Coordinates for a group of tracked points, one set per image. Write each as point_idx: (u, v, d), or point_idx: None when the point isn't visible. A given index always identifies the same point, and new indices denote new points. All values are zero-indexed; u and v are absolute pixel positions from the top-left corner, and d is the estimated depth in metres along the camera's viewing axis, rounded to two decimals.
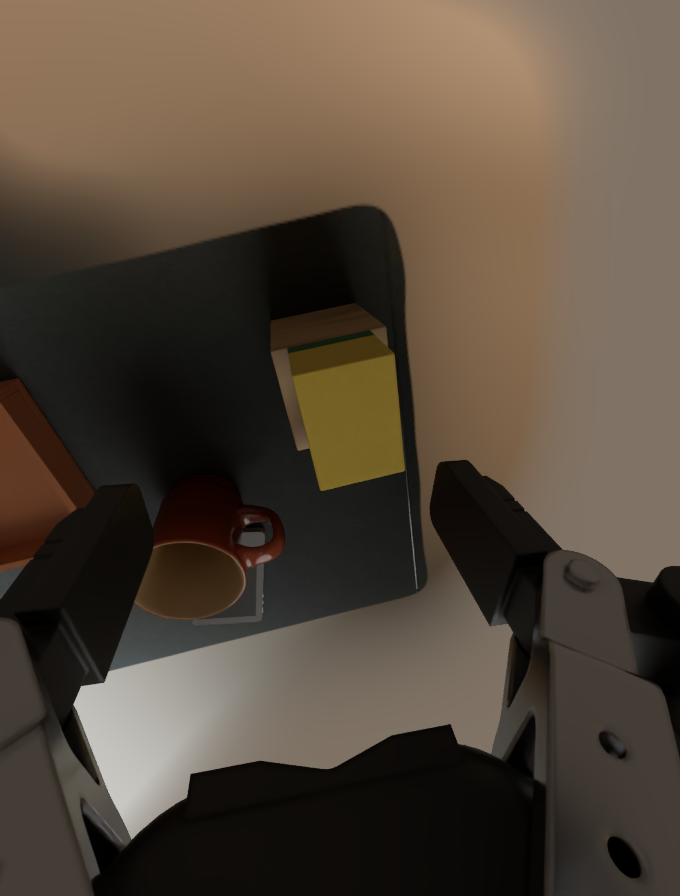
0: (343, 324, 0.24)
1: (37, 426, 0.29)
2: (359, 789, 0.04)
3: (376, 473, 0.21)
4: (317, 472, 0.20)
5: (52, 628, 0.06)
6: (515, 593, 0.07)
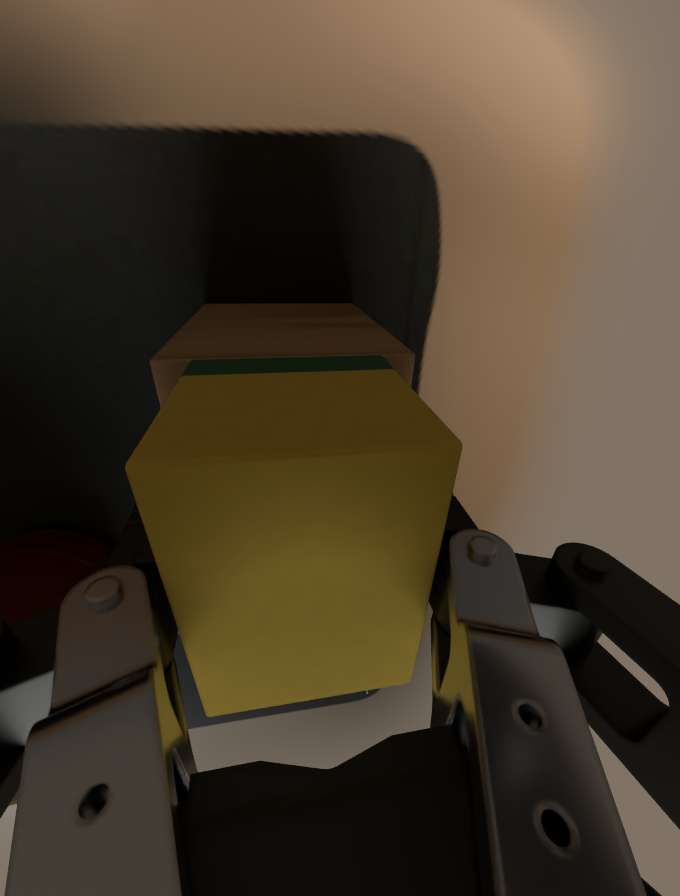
0: (327, 333, 0.12)
1: None
2: (359, 789, 0.04)
3: (346, 687, 0.09)
4: (200, 687, 0.08)
5: None
6: None
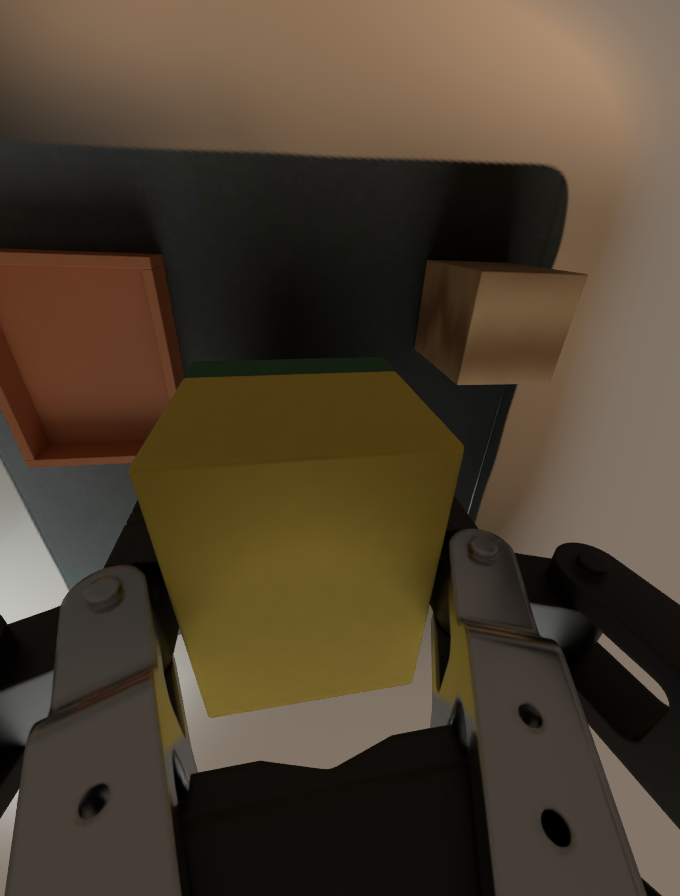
0: (531, 269, 0.24)
1: (167, 311, 0.26)
2: (359, 789, 0.04)
3: (348, 688, 0.09)
4: (202, 688, 0.08)
5: (161, 578, 0.07)
6: None
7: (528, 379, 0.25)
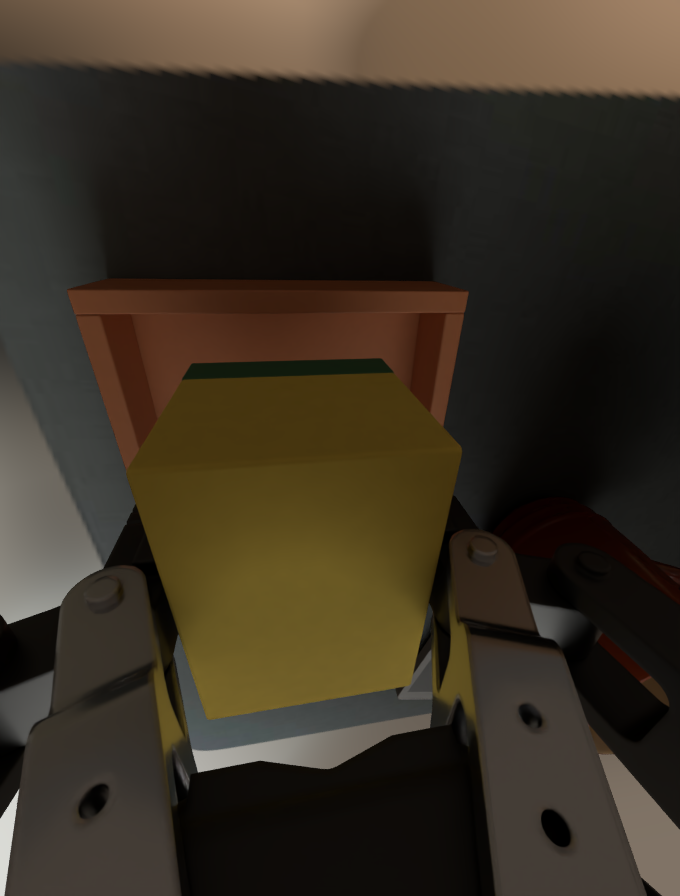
0: None
1: None
2: (359, 789, 0.04)
3: (347, 690, 0.09)
4: (200, 691, 0.08)
5: None
6: None
7: None
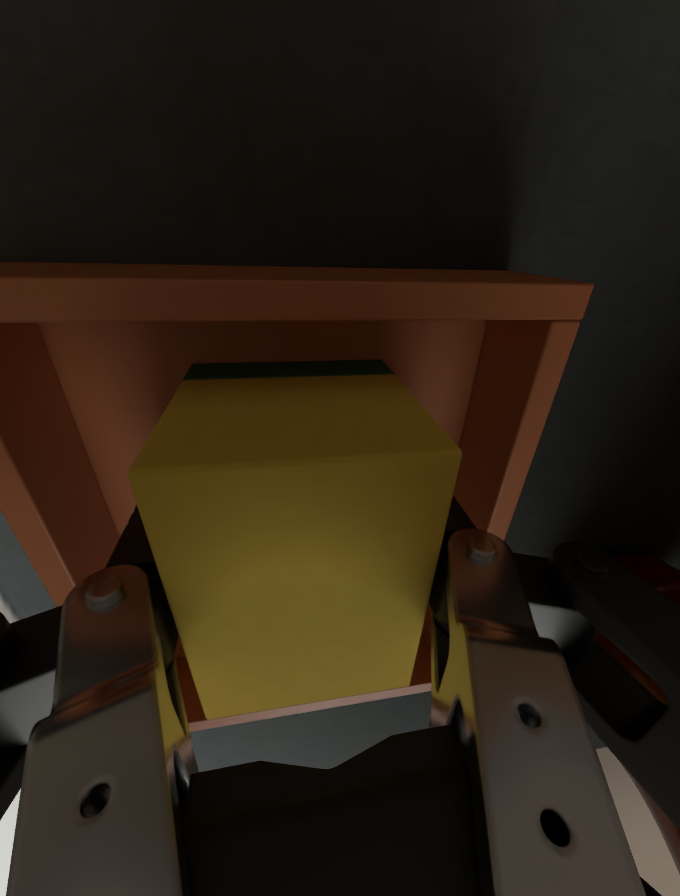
0: None
1: None
2: (359, 789, 0.04)
3: (345, 691, 0.09)
4: (200, 690, 0.08)
5: None
6: None
7: None
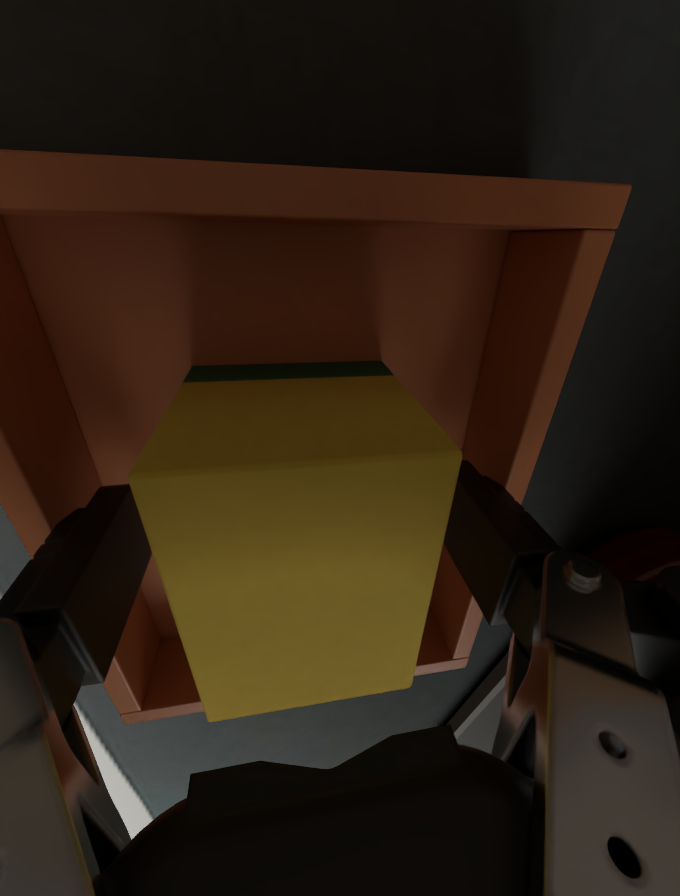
0: None
1: None
2: (358, 789, 0.04)
3: (347, 692, 0.09)
4: (201, 693, 0.08)
5: (51, 628, 0.06)
6: (515, 593, 0.07)
7: None
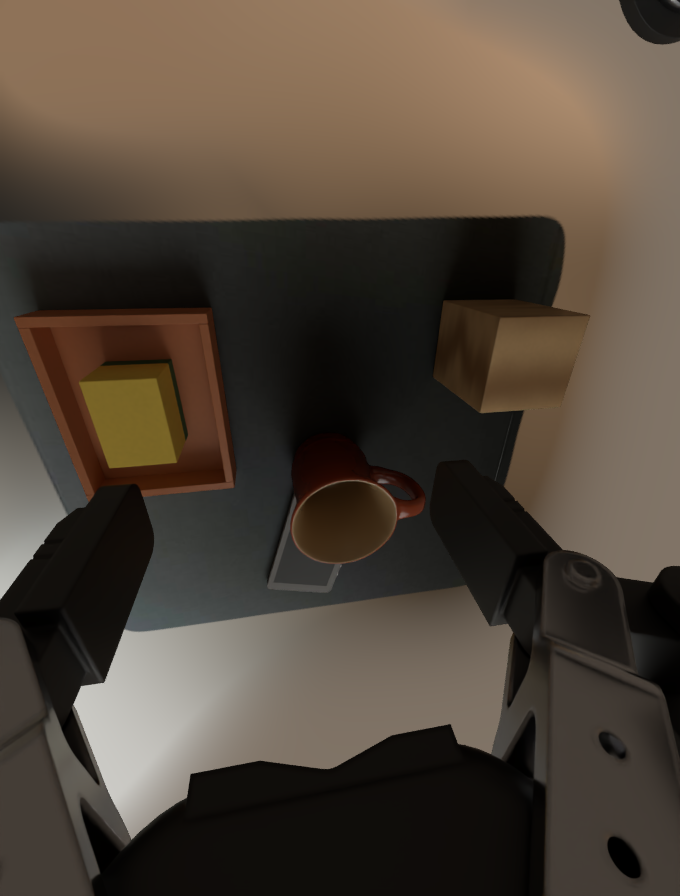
0: (539, 310, 0.27)
1: (216, 356, 0.29)
2: (358, 789, 0.04)
3: (153, 461, 0.28)
4: (104, 453, 0.27)
5: (52, 628, 0.06)
6: (515, 593, 0.07)
7: (541, 405, 0.28)
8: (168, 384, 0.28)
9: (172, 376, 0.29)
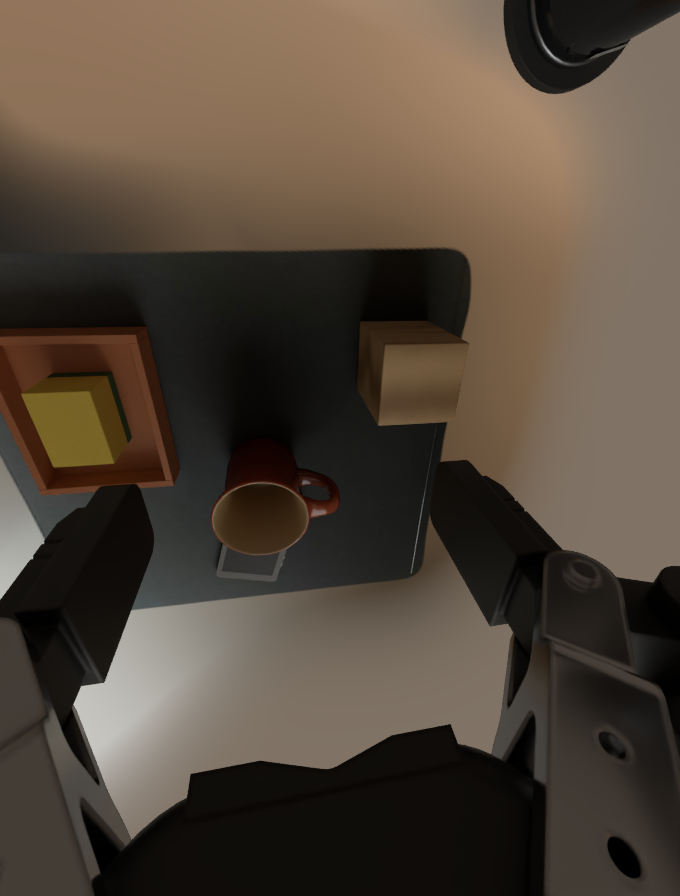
0: (431, 335, 0.31)
1: (151, 370, 0.33)
2: (359, 789, 0.04)
3: (93, 462, 0.32)
4: (48, 454, 0.31)
5: (52, 628, 0.06)
6: (514, 593, 0.07)
7: (435, 419, 0.32)
8: (106, 394, 0.32)
9: (112, 387, 0.33)
